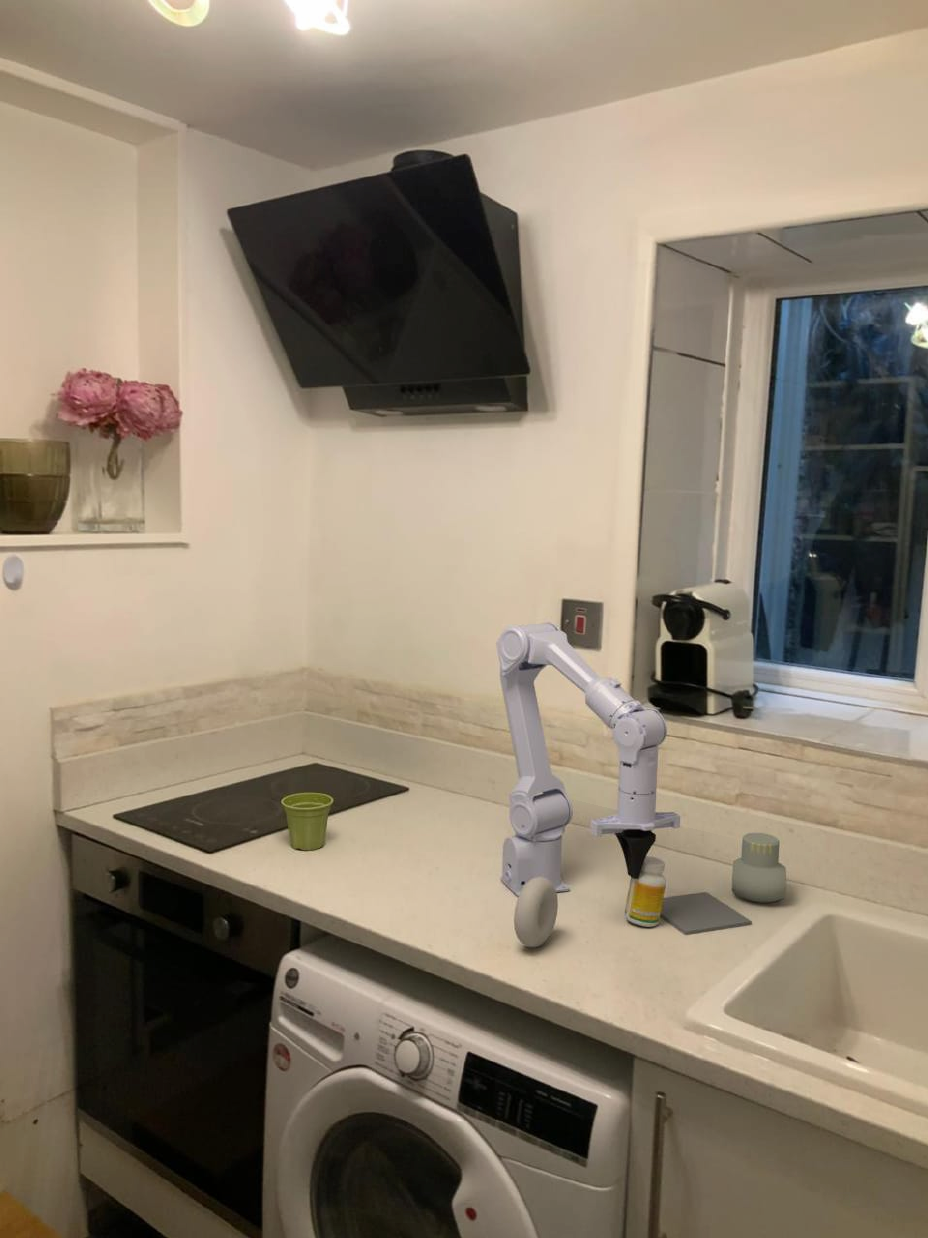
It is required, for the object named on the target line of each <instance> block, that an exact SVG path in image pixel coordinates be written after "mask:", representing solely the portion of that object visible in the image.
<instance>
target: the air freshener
mask: <svg viewBox="0 0 928 1238" xmlns="http://www.w3.org/2000/svg"><path fill="white" fill-rule="evenodd" d="M741 843H742V844H741V855H740V857H738V858H736V859H734V860H733V863H732V873H731V875H732V876H731V877H732V878H731V891H732V892H733V893H734V894H736V895H737V896H739V897H741V898H742V899H745V900H748V901H752V902H755V903H773V902H777V901H780V900H782V899H784V898H785V897H786V892H787V871H786V870H787V869H786V866H785V865H783V864H782V863H780V862H779V860H780V846H781V845H780V843H781V842H780V840H779V839H778V838H777V837H776V836H774V835H772V834H768V833H766V832H765V833H764V832H763V833H762V832H747V833H745V834H744V835H743V836H742V841H741Z"/></svg>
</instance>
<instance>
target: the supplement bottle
mask: <svg viewBox="0 0 928 1238" xmlns="http://www.w3.org/2000/svg"><path fill="white" fill-rule="evenodd" d="M665 868H666V862H665V861H664V860H662V859H661V858H657V857H655V856H649V855H646V857H645V860H644V862H643V865H642V868H641V871H640V875H639V878H638V879H633V878H632V877H631V876H630V881H629V886H628V894H627V897H626V903H625V908H624V909H625V910H624V916H625V917H624V918H625V919H626V920H628V922H631V924H632V923H633V924H636V925H638V926H641V927H647V928H648V927H649V928H650V927H655V926H657V925H658V924H660V923H659V922H660V919H661V916H660V915H661V909H662V904H663V898H665V897H664V896H665V892H666V887H667V878H666V876H665V875H664V874H663V873H664V872H665Z"/></svg>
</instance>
